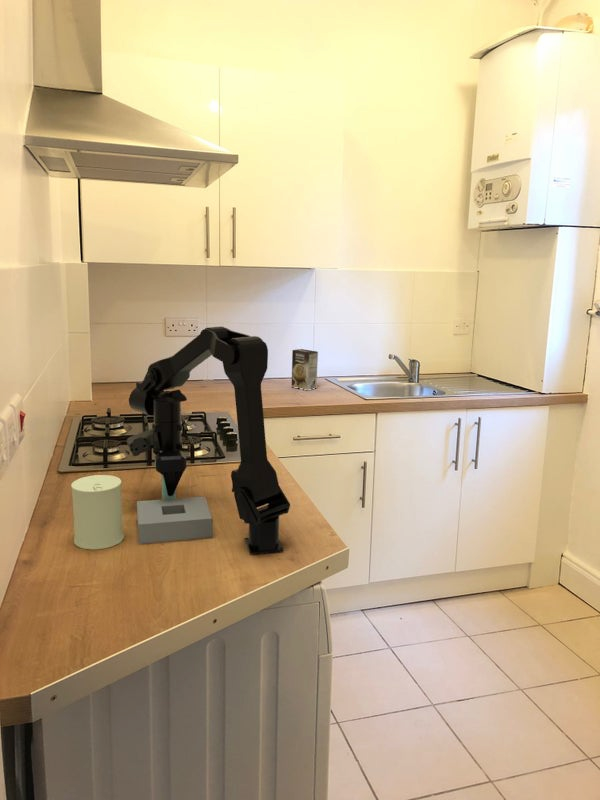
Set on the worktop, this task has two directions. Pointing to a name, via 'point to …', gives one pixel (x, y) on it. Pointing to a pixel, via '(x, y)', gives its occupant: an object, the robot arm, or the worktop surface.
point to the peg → (164, 491)
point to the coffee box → (304, 368)
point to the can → (97, 511)
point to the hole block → (173, 520)
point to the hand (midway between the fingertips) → (168, 488)
